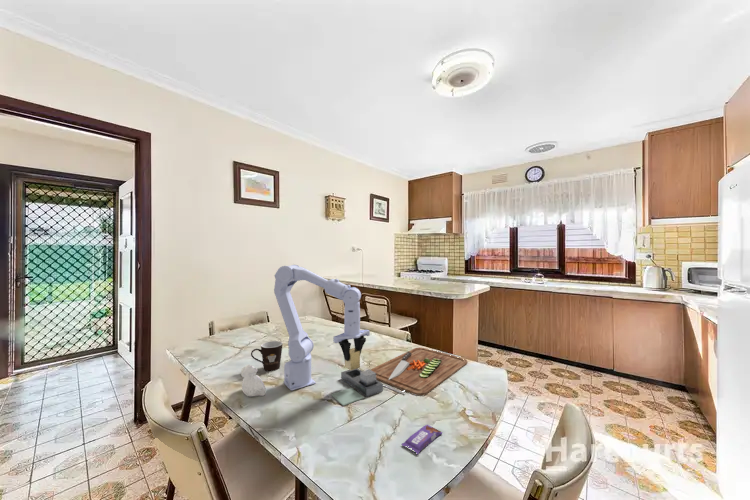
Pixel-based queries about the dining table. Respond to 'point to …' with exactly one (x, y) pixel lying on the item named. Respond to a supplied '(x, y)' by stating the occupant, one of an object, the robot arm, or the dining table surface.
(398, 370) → the chopping board
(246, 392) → the bust
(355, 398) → the mat
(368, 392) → the gray slotted board
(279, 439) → the dining table surface
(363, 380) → the gray metal block
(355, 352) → the tan wooden block
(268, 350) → the coffee mug
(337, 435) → the dining table surface
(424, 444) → the snack package
